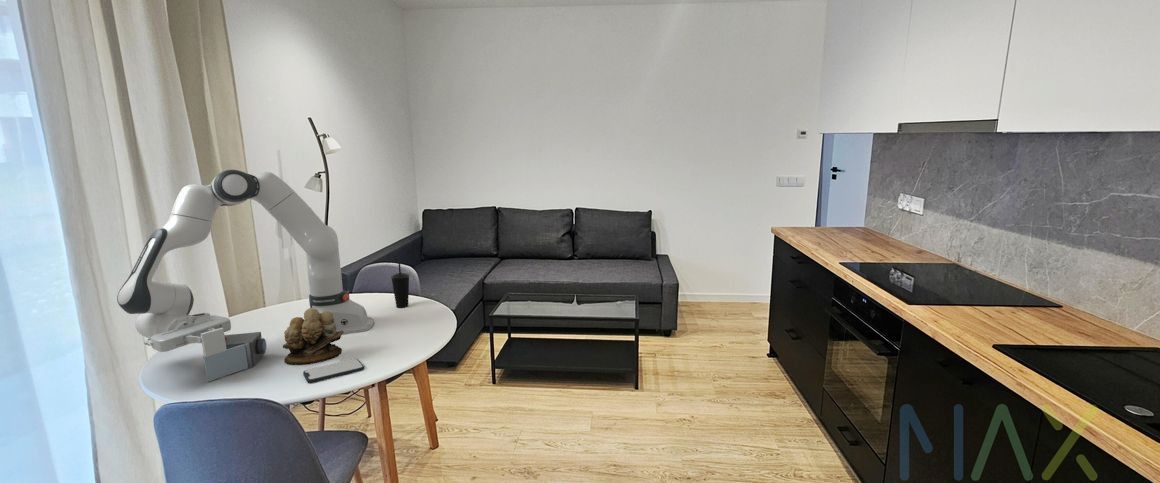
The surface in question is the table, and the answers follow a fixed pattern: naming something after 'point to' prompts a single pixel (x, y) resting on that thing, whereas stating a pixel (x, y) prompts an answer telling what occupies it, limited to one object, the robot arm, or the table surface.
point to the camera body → (253, 339)
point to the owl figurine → (312, 338)
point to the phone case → (332, 370)
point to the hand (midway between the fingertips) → (209, 337)
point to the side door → (223, 355)
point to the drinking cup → (401, 288)
